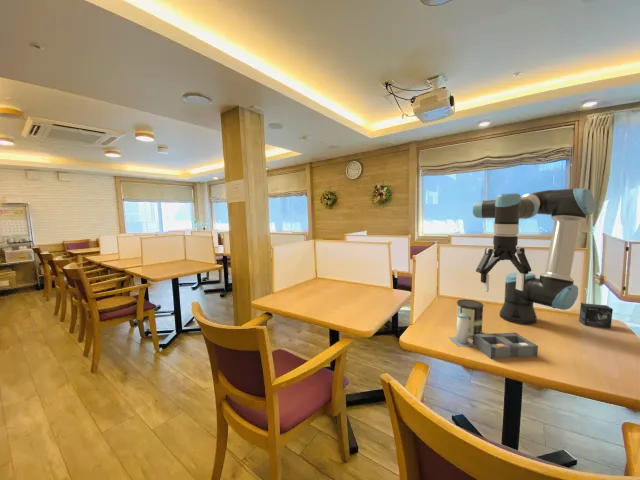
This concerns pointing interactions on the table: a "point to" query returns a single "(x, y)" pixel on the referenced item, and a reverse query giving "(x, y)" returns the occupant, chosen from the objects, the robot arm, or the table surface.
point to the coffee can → (472, 315)
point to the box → (596, 315)
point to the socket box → (505, 345)
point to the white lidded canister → (462, 328)
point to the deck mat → (460, 343)
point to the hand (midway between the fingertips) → (502, 290)
